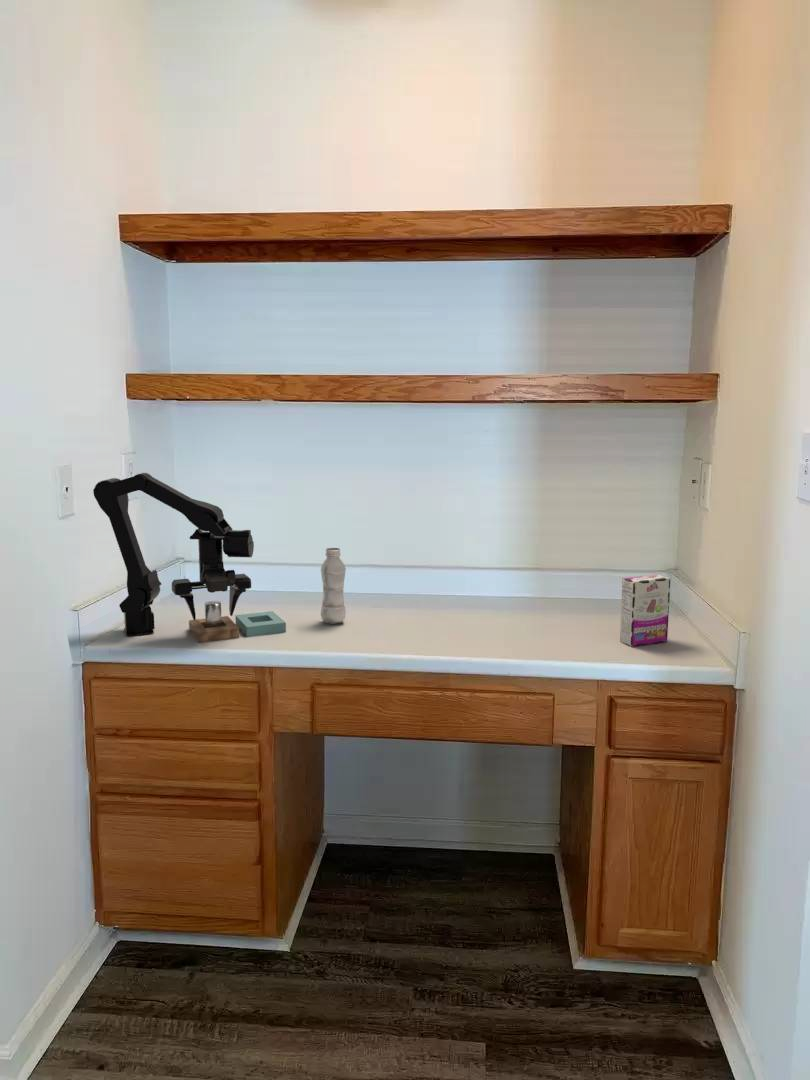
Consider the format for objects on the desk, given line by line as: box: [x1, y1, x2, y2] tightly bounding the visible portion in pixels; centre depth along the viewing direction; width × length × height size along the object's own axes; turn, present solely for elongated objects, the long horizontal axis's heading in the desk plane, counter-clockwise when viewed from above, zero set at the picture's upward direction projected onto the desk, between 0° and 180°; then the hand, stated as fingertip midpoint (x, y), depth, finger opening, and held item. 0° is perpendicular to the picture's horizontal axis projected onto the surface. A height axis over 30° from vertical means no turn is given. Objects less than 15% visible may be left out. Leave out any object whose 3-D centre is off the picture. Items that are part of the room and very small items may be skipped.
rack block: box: [235, 611, 287, 638], centre depth 204 cm, size 10×12×2 cm
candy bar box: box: [619, 574, 671, 647], centre depth 194 cm, size 11×5×16 cm, turn 112°
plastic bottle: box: [320, 547, 347, 624], centre depth 208 cm, size 6×7×20 cm
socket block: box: [188, 615, 240, 644], centre depth 199 cm, size 10×12×2 cm
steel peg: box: [204, 600, 222, 628], centre depth 198 cm, size 4×4×8 cm
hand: (212, 617), depth 198 cm, fingers open, 9 cm apart
